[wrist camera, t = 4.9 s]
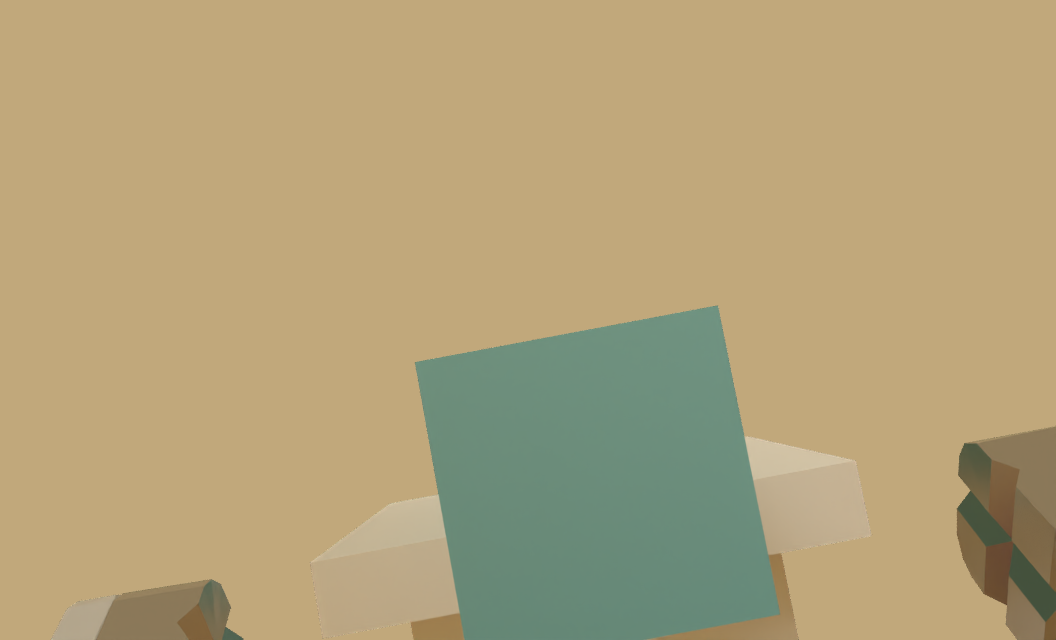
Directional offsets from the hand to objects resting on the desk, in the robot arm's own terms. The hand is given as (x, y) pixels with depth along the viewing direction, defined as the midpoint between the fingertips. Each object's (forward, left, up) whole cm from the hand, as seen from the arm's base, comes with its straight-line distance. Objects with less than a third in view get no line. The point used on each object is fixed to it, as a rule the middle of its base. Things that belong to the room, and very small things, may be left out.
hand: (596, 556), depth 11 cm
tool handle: (-9, +7, -1) cm, 11 cm away
